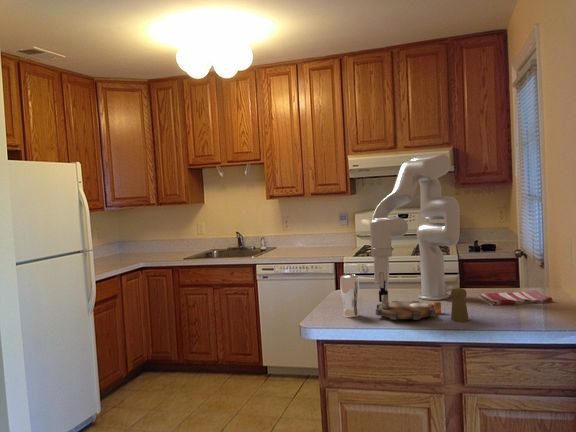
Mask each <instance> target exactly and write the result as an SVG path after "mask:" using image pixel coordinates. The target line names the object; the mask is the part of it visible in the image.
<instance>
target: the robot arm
mask: <svg viewBox="0 0 576 432" xmlns="http://www.w3.org/2000/svg"><path fill="white" fill-rule="evenodd" d="M451 165H452V164H451V159H450V157H449V156H448V155H447V154H445V153H438V154H437V153H434V154H425V155H417V156H415V157H412V158H410V160H408V161H405V162H403V163H402V164H401V165H400V168H399V171H398V173H397V176H396V179H395V182H394V185H393V188H392V191H391V192H389V194H388V195H387V196H386V197H384V198H383V199H382V200H381V201H380V202H379V204H378V205H377V206H376V208H375V210H374V212H373V215H372V217H371V221H370V222H369V233H370V234H369V236H370V256H371V258H373V272H374V284H375V285H377V284H378V302H379V303H382V295H388V296H389V290H388V284H389V281H390V258H391V257H393V251H392V250H393V249H392V238H401V237H403V236H405V235H406V234H407V233H408V230H409V225H408V222H407V220H406V219H404V218H403V217H397V216H396V217H394V216H393V217H392V216H389V215H390V213H392V212H393V211H394V210H397V209H398V208H401V207H403V206H405V205H407V204H408V203H411V202H412V201H413V200H414V197H415V193H416V190H417V187H418V184H419V188H420V190H419V191H420V215H421V217H422V218H423V219H425V220H430V221H431V220H434V221H435V220H437V221H438V220H444V222H424V223H421V224H420V225H419V226H418V227H417V229H416V239H417V243H418V249H419V259H420V260H419V261H420V263H419V264H420V282H421V285H420V286H421V288H420V289H421V292H419V293H417V296H418V298H419V299H421V300H427V301H440V300H446V299H448V298H449V297H450V295H449V293H448V292H451V291H452V289H454V288H455V286H453V285H450V286H447V285H445V284H446V283H445V263H444V258H445V257H444V253H443V251H442V250H441V247H453V246H455V245H457V244H458V243H459V240H460V234H461V233H460V232H461V231H460V228H461V221H460V220H461V217H460V216H461V214H460V213H461V211H460V205H459V201H458V200H457V199H456V198H455V197H454V196H450V195H449V196H442V184H441V182H440V181H439V179H438V178H441V177H443V176H445V175H447V174H448V172H449V171H450V169H451ZM440 246H441V247H440Z"/></svg>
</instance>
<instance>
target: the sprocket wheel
mask: <svg viewBox="0 0 576 432" xmlns="http://www.w3.org/2000/svg"><path fill="white" fill-rule="evenodd" d="M375 315H376V316H380V317H381V316H382V317H386V318H389V319H390V320H395V321H396V320H397V319H414V321H415V320H421V319H422V318H426V317H429V316H430V317H434V316H436V314H435V309H434V303H425V302H420V301H419V300H413V301H411V300H409V301H408V300H406V301H405V300H404V301H403V300H402V301H398V300H391V301H389V294H388V295H382V302H381V303H378V304H376V308H375Z"/></svg>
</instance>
